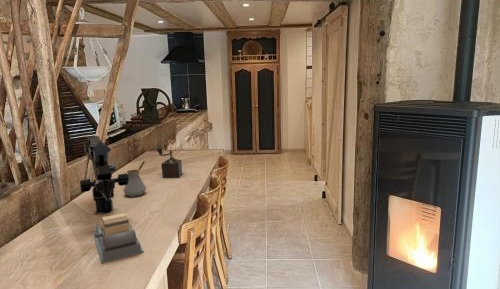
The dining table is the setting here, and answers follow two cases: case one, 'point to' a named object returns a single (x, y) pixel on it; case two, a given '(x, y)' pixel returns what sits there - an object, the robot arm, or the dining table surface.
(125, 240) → the bay
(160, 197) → the dining table surface
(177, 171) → the manual coffee grinder
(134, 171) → the coffee pot
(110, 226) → the crate
